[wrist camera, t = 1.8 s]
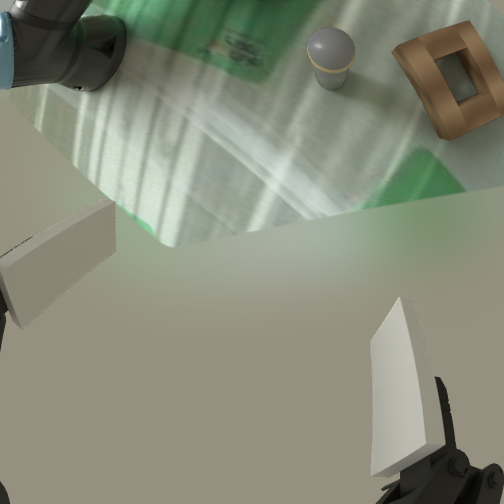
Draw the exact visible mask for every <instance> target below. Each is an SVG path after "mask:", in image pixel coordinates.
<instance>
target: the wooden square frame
mask: <svg viewBox="0 0 504 504" xmlns="http://www.w3.org/2000/svg"><path fill="white" fill-rule="evenodd" d="M453 53H457V55H458V57H459V58H460V60H461V62H462V64H463V65H464V67H465V69H466V71H467V73H468V75H469V77H470V79H471V80H472V82H473V84H474V86H475V88H476V91H477V93H478V94H475V95H473V96H471V97H469V98H466V99H464V100H462V101H460V102H458V103H457V102H456V100H455V98H454V96H453V94H452V92H451V91H450V89H449V87H448V85H447V83H446V81H445V79H444V78H443V76H442V74H441V72H440V70H439V69H438V67H437V65H436V64H435V62H434V61H435V60H438V59H440V58H443V57H445V56H448V55H451V54H453ZM392 54H393V55H394V57H395V58H396V60H397V61H398V63H399V64H400V66H401V67H402V69H403V70H404V72H405V74H406V75H407V77H408V79H409V80H410V82H411V84H412V85H413V87H414V89H415V90H416V92H417V94H418V96H419V98H420V99H421V101H422V103H423V105H424V107H425V109H426V111H427V113H428V115H429V117H430V119H431V121H432V123H433V125H434V127H435V129H436V131H437V133H438V136H439V138H442V139H446V140H453V139H455V138H457V137H459V136H461V135H463V134H465V133H467V132H469V131H471V130H473V129H475V128H477V127H479V126H481V125H483V124H485V123H487V122H490V121H492V120H494V119H496V118H498V117H500V116H502V115H504V81H503V79H502V77H501V75H500V73H499V71H498V69H497V67H496V65H495V63H494V61H493V59H492V57H491V56H490V54H489V52H488V50H487V48H486V47H485V45H484V43H483V41H482V40H481V38H480V37H479V35H478V33H477V32H476V30H475V29H474V27H473V25H472V24H471V22H470V21H465V22H462V23H458V24H455V25H452V26H449V27H446V28H443V29H440V30H437V31H434V32H431V33H428V34H425V35H423V36H420V37H417V38H415V39H412V40H410V41H407V42H405V43H402V44H400V45H398V46H397V47H396V48H395V49H394V50H393V51H392Z"/></svg>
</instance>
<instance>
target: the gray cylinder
mask: <svg viewBox="0 0 504 504" xmlns="http://www.w3.org/2000/svg"><path fill="white" fill-rule="evenodd" d="M307 53H308V56H309V58H310V61H311V62H312V64H313V67H314V70H315V74H316V77H317V80H318V82H319V84H320V85H321V86H322V87H323V88H325V89H327V90H337V89H339V88H340V87H341V86H342V85H343V84H344V81H345V78H346V76H347V73H348V70H349V68H350V66H351V64H352V63H353V60H354V57H355V47H354V43H353V41H352V39H351V38H350V37H349V35H347V34H346V33H345V32H344V31H342V30H340V29H337V28H333V27H325V28H320V29H318V30H316V31H315V32H313V33H312V34H311V36H310V37H309V39H308V43H307Z"/></svg>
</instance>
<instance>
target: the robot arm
mask: <svg viewBox="0 0 504 504" xmlns="http://www.w3.org/2000/svg"><path fill="white" fill-rule="evenodd" d="M92 2H93V0H15V1H14V2H13V4H12V6H11V8H10V9H9V11H8V12H6V11H3V12H1V13H0V89H6V90H8V89H10V88H15V87H22V86H29V85H38V84H48V83H58V84H60V85H63V86H65V87H68V88H71V89H73V90H76V91H91V90H95V89H97V88H99V87H101V86H102V85H104V84H105V83H106V82H107V81H108V80H109V79H110V78H111V77H112V76H113V74H114V73H115V71H116V70H117V68H118V66H119V64H120V62H121V60H122V57H123V54H124V51H125V46H126V32H125V28H124V26H123V24H122V22H121V21H120V20H119V19H117V18H115V17H112V16H109V15H103V14H100V15H95V16H87V17H82V18H80V17H81V16H82V14H83V13H84V12H85V10H86V9H87V8H88V7H89V5H90V4H91V3H92ZM114 252H116V236H115V201H112V200H109V199H106V198H102V199H100V200H98V201H96V202H94V203H92V204H91V205H89V206H87V207H85V208H83V209H81V210H79V211H77V212H75V213H74V214H72V215H70V216H68V217H66V218H64V219H63V220H61V221H59V222H57V223H55V224H54V225H52V226H50V227H49V228H47V229H45V230H44V231H42V232H40V233H38V234H37V235H35V236H34V237H30V238H29V239H27V240H25V241H24V242H22V243H21V245H18V246H16V247H15V248H14V249H11V250H10V251H9V252H7V253H5V254H4V255H3V256H1V257H0V349H1V344H2V338H3V333H4V328H5V324H6V316H5V314H4V313H6V312H7V311H9V313H10V316H11V318H12V320H13V322H14V323H15V324H16V325H18V326H19V327H20V328H21V329H22V330H24V329H25V328H26V327H27V326H28V325H29V324H30V323H31V322H32V321H33V320H34V319H35V318H37V317H38V316H39V315H40V314H41V313H42V312H43V311H44V310H45V309H47V308H48V307H49V306H50V305H51V304H52V303H53V302H54V301H56V300H57V299H58V298H59V297H60V296H61V295H63V294H64V293H65V292H66V291H67V290H68V289H70V288H71V287H72V286H73V285H74V284H75V283H77V282H78V281H79V280H80V279H82V278H83V277H84V276H85V275H87V274H88V273H89V272H90V271H91V270H93V269H94V268H95V267H96V266H98V265H99V264H100V263H102V262H103V261H104V260H105V259H107V258H108V257H109V256H111V255H112V254H113V253H114ZM370 346H371V361H372V384H373V439H372V460H371V475H370V476H371V477H391V476H393V475H395V474H397V473H399V472H400V479H399V480H397V481H395V482H393V483H391V484H389V485H386V486H385V487H383V488H382V489H381V490H382V491H384V490H386V489H388V488H389V490H388V491H387V492H386V493H385V494H384V495H383V496H382V497H381V498H380V500H379V501H378V502H377V503H376V504H500V500H501V495H502V491H503V486H504V473H503V470H502V468H501V467H500V466H499V465H498V464H495V463H493V464H490V465H489V466H487V467H485V468H484V469H482V470H481V469H478V468H476V467H473V466H470V463H469V459H468V457H467V456H466V454H465V453H464V452H462V451H461V450H459V449H457V448H456V442H455V436H454V428H453V421H452V416H451V413H450V405H449V403H448V401H449V400H448V395H447V390H446V388H445V386H444V384H443V382H442V380H441V378H440V377H435V376H434V372H433V368H432V363H431V359H430V355H429V351H428V347H427V344H426V340H425V336H424V333H423V329H422V326H421V322H420V319H419V316H418V313H417V309H416V306H415V303H414V301H412V300H409V299H406V298H404V297H401V296H399V298H398V299H397V301H396V303H395V304H394V306H393V307H392V309H391V311H390V312H389V314H388V315H387V317H386V319H385V320H384V321H383V323H382V325H381V326H380V328H379V329H378V331H377V332H376V334H375V335H374V336H373V338H372V339H371V341H370ZM0 504H10V502H9V497H8V494H7V492H6V489H5V487H4V486H3V485H2V483H1V482H0Z"/></svg>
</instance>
